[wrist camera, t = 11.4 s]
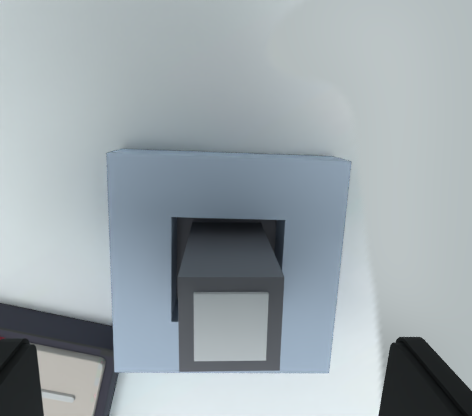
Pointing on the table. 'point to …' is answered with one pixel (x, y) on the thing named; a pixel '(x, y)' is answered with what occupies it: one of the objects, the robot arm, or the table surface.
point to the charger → (229, 299)
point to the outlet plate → (222, 210)
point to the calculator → (67, 359)
